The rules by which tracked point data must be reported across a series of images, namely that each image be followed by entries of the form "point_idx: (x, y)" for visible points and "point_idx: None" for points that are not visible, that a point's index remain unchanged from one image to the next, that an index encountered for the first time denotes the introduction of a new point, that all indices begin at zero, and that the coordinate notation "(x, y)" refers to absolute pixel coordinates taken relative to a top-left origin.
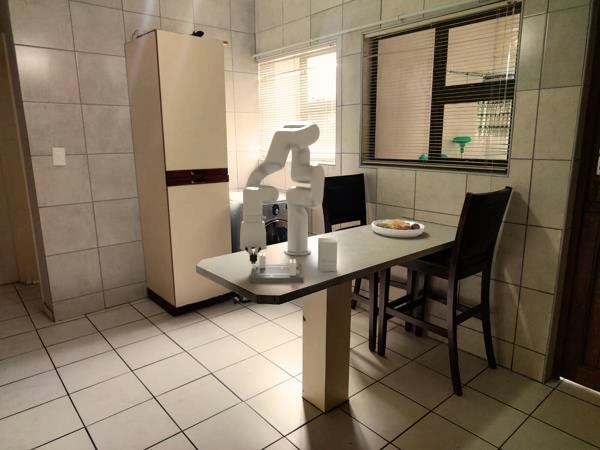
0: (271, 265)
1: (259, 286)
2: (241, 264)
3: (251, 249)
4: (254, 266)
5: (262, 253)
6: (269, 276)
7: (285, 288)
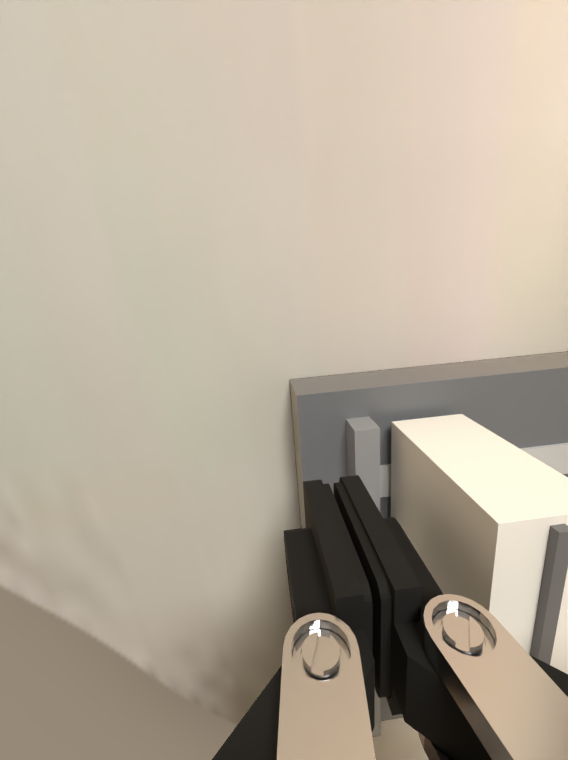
0: (520, 404)
1: None
2: (112, 189)
3: (361, 735)
4: (326, 455)
5: (555, 587)
6: None
7: None
